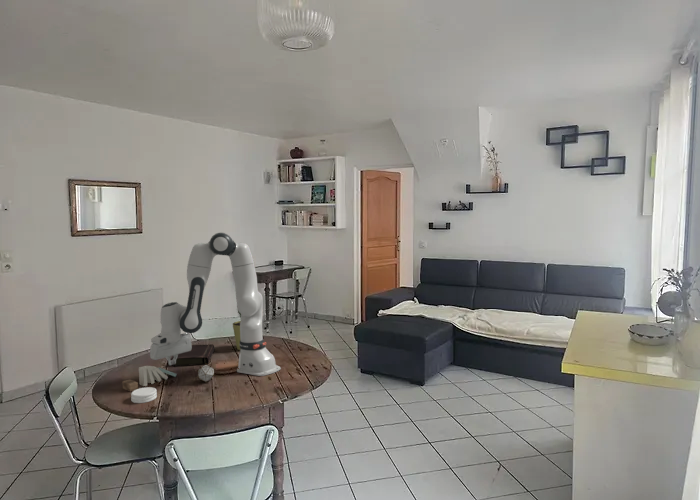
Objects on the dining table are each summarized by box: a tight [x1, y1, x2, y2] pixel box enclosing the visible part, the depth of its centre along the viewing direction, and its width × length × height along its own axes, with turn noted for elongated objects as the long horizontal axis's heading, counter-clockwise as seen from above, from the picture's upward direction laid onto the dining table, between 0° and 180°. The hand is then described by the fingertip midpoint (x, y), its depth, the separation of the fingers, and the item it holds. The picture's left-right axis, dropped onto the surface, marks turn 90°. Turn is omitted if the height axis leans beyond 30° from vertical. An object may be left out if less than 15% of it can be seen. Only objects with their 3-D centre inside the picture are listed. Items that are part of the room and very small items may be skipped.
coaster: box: [130, 386, 158, 404], centre depth 196 cm, size 10×10×4 cm
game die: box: [196, 363, 216, 384], centre depth 216 cm, size 9×8×10 cm
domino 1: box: [138, 366, 148, 387], centre depth 213 cm, size 4×1×8 cm, turn 52°
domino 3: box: [147, 364, 162, 383], centre depth 217 cm, size 4×1×8 cm, turn 52°
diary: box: [172, 343, 215, 368], centre depth 252 cm, size 19×25×5 cm
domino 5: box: [157, 367, 178, 378], centre depth 222 cm, size 4×1×8 cm
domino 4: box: [151, 365, 169, 380], centre depth 219 cm, size 4×1×8 cm
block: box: [122, 379, 139, 393], centre depth 208 cm, size 7×4×3 cm, turn 52°
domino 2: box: [142, 365, 156, 385], centre depth 215 cm, size 4×1×8 cm, turn 52°
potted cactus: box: [232, 308, 241, 351], centre depth 271 cm, size 15×15×30 cm
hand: (172, 364), depth 224 cm, fingers closed
